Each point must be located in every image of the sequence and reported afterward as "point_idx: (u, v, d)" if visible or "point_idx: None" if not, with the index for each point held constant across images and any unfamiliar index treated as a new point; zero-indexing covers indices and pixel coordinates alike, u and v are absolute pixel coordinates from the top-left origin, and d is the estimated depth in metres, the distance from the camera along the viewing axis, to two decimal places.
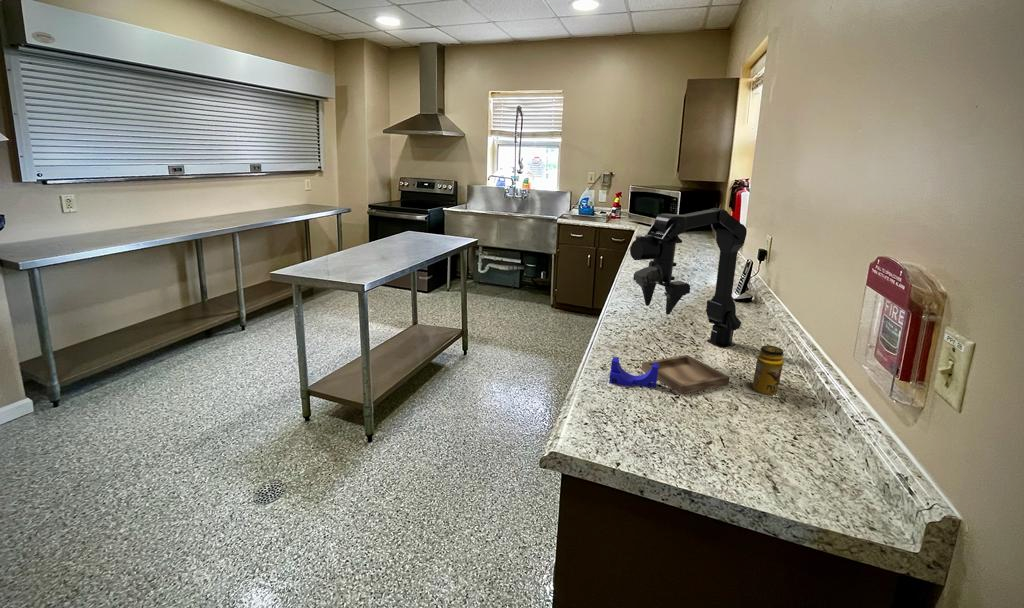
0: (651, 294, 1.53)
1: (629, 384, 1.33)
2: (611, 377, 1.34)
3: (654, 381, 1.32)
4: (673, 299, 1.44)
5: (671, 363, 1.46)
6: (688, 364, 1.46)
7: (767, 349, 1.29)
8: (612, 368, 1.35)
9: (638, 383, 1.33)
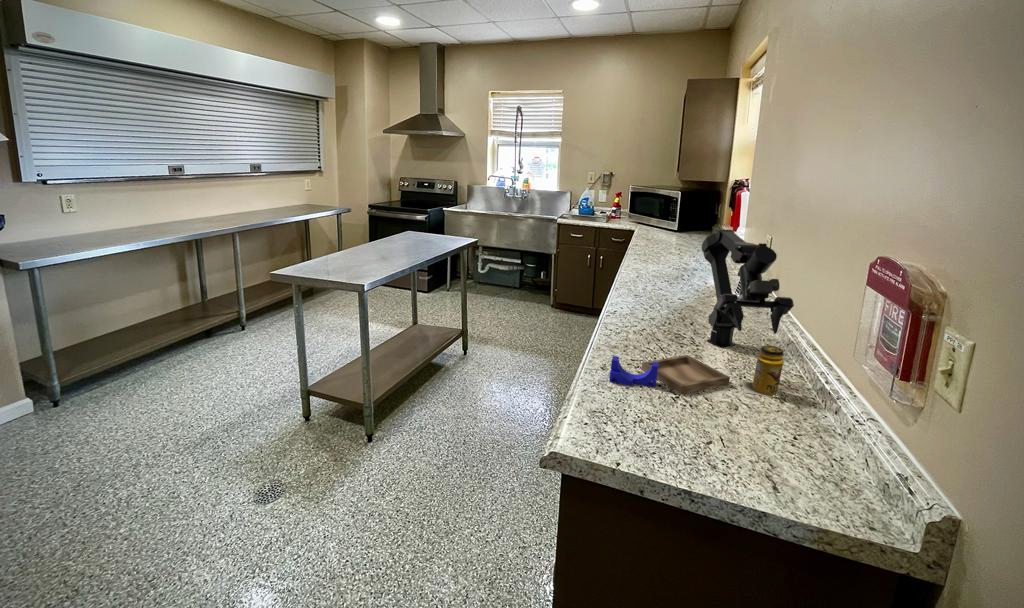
0: None
1: (629, 383, 1.33)
2: (611, 376, 1.34)
3: (654, 380, 1.33)
4: None
5: (671, 363, 1.46)
6: (688, 364, 1.46)
7: (767, 349, 1.29)
8: (612, 367, 1.35)
9: (638, 382, 1.34)
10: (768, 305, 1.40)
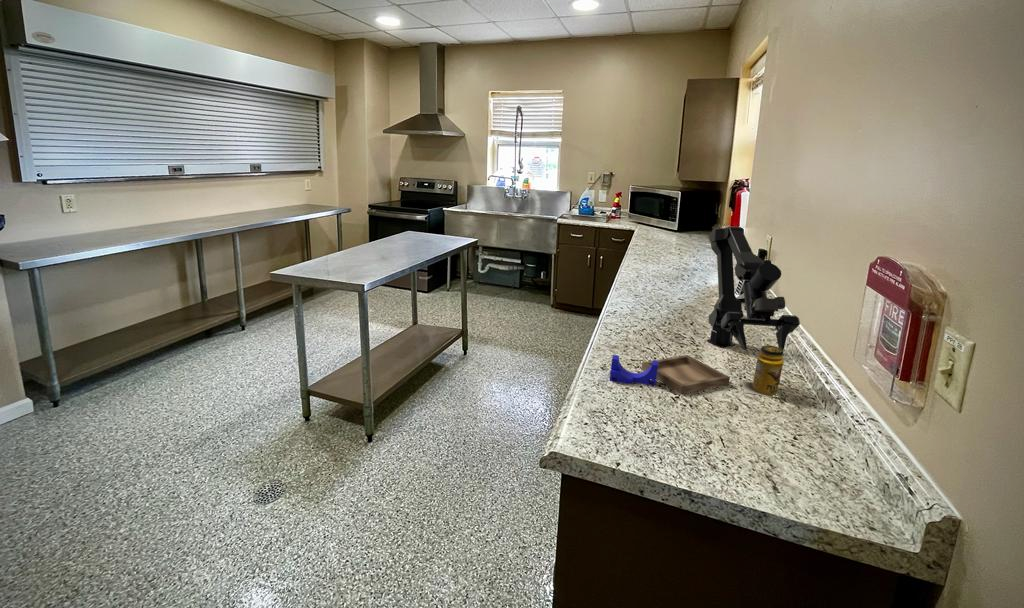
0: None
1: (629, 382, 1.34)
2: (611, 375, 1.35)
3: (654, 378, 1.33)
4: None
5: (671, 363, 1.46)
6: (688, 364, 1.46)
7: (767, 349, 1.29)
8: (612, 366, 1.36)
9: (638, 381, 1.35)
10: (773, 323, 1.36)
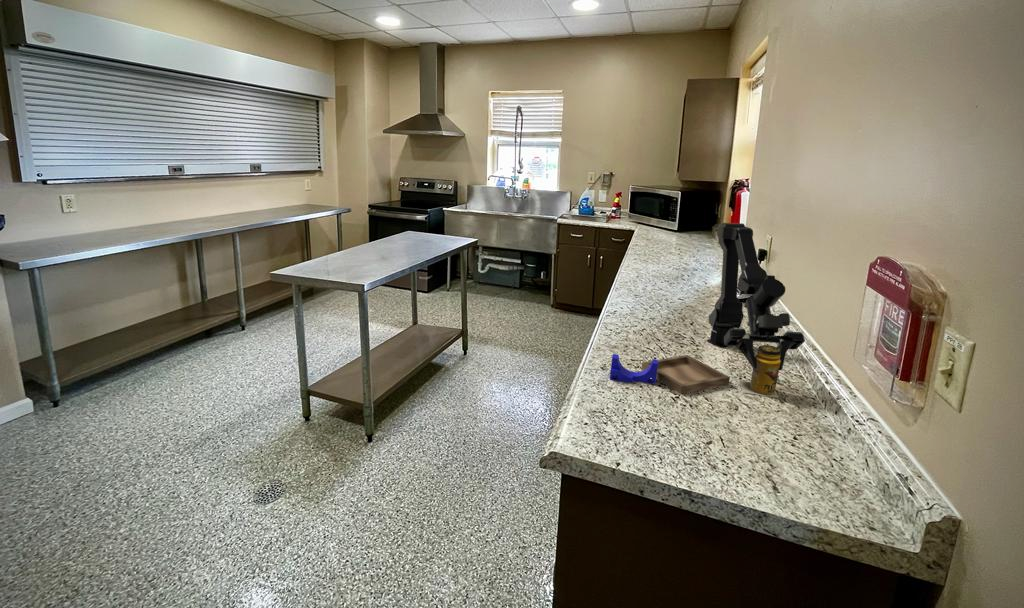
0: None
1: (629, 381, 1.35)
2: (612, 374, 1.36)
3: (654, 377, 1.34)
4: None
5: (671, 363, 1.46)
6: (688, 364, 1.46)
7: (765, 349, 1.29)
8: (612, 365, 1.37)
9: (638, 379, 1.36)
10: (778, 340, 1.33)
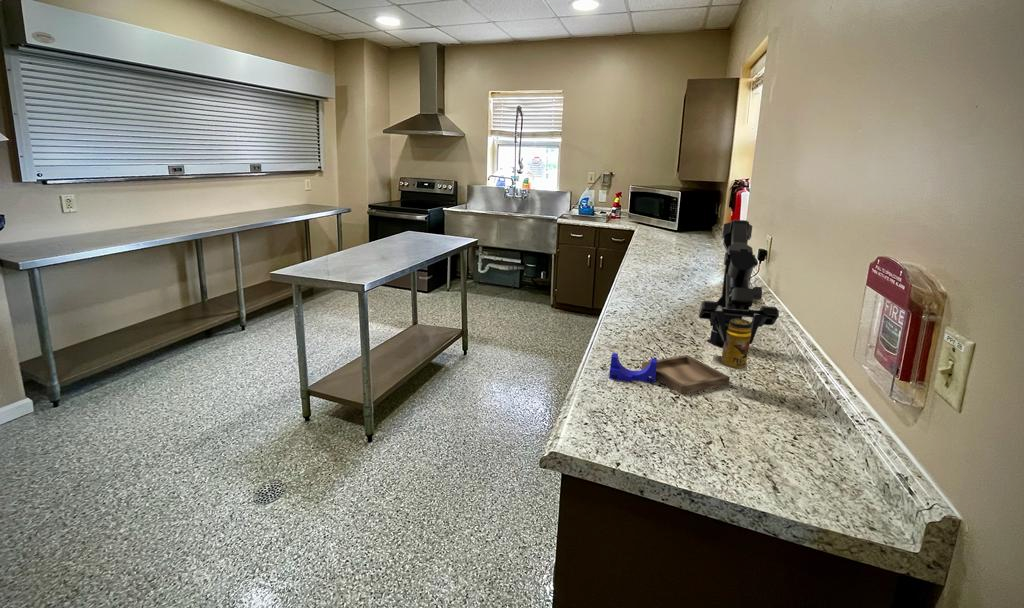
0: None
1: (628, 379, 1.36)
2: (611, 373, 1.37)
3: (653, 376, 1.35)
4: None
5: (671, 363, 1.46)
6: (688, 364, 1.46)
7: (735, 322, 1.28)
8: (612, 364, 1.37)
9: (637, 378, 1.36)
10: (752, 314, 1.32)
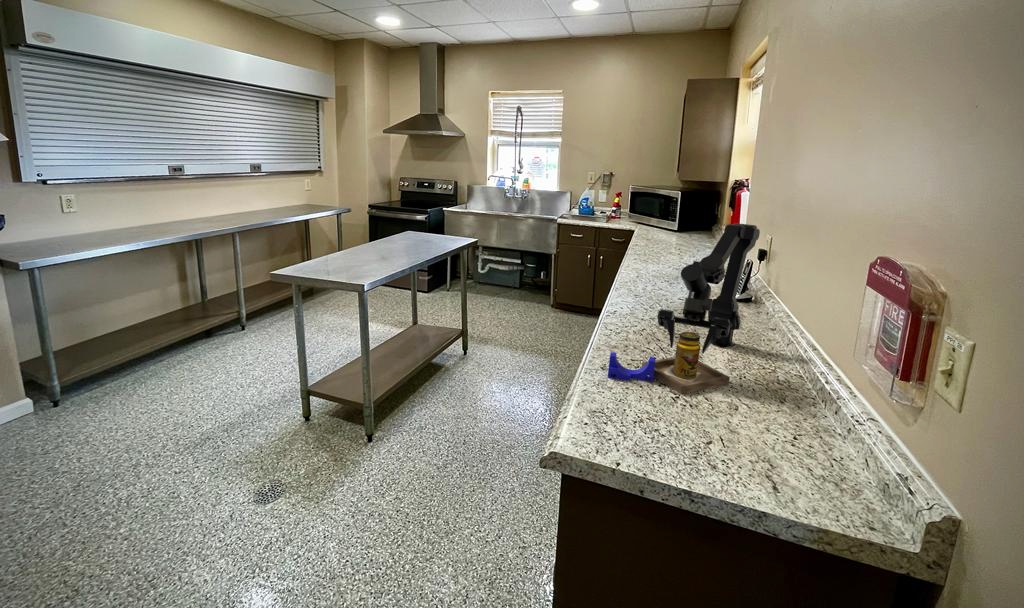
0: None
1: (627, 378, 1.36)
2: (610, 372, 1.37)
3: (651, 375, 1.36)
4: None
5: (671, 363, 1.46)
6: None
7: (684, 334, 1.36)
8: (610, 363, 1.38)
9: (636, 377, 1.37)
10: (706, 325, 1.37)
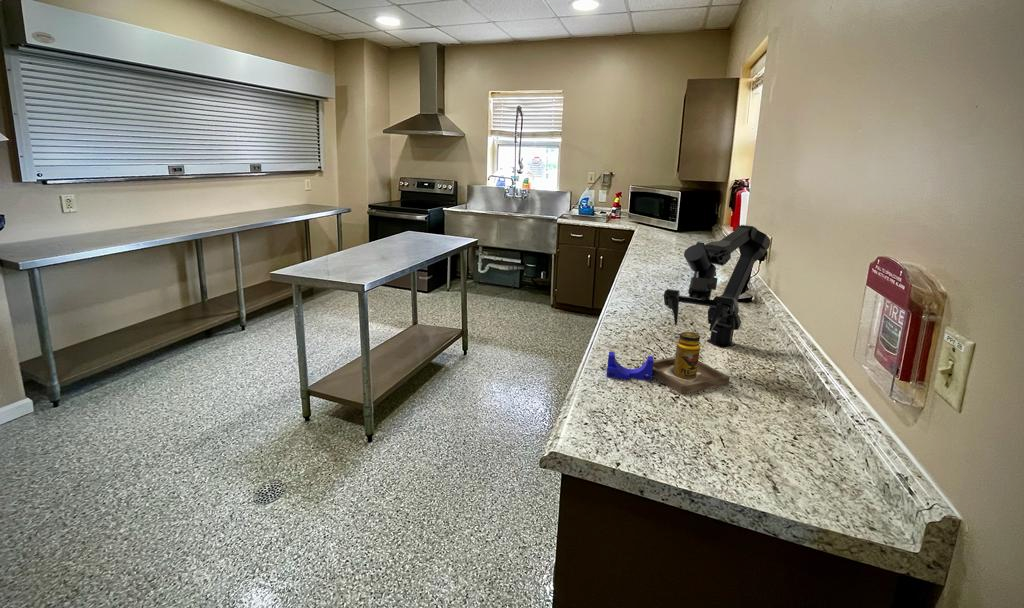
0: None
1: (626, 378, 1.37)
2: (608, 371, 1.38)
3: (650, 374, 1.36)
4: (717, 316, 1.40)
5: (671, 363, 1.46)
6: None
7: (684, 334, 1.36)
8: (609, 362, 1.38)
9: (634, 376, 1.38)
10: (711, 304, 1.41)
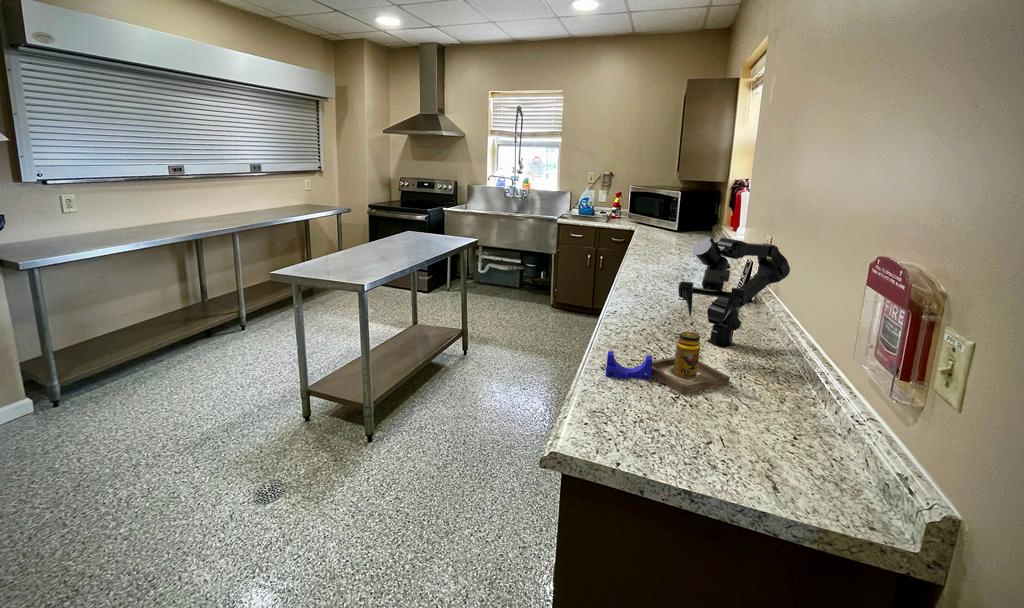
0: None
1: (625, 377, 1.37)
2: (607, 370, 1.38)
3: (649, 373, 1.37)
4: None
5: (671, 363, 1.46)
6: None
7: (684, 334, 1.36)
8: (608, 362, 1.39)
9: (633, 375, 1.38)
10: (724, 295, 1.48)
